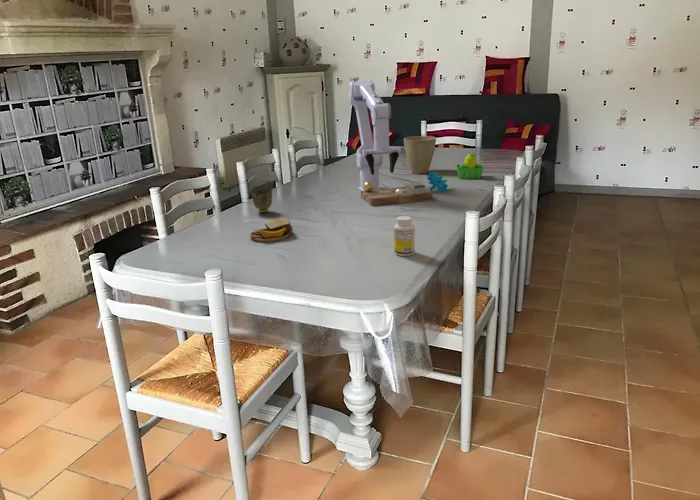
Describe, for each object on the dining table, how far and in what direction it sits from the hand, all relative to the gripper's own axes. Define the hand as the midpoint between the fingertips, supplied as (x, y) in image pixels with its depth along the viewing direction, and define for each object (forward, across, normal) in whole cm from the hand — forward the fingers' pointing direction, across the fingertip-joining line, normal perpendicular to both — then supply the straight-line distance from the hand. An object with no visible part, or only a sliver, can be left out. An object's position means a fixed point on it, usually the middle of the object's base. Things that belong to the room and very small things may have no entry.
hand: (382, 173), depth 213 cm
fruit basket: (+10, +46, +22) cm, 52 cm away
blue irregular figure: (+10, +24, +3) cm, 26 cm away
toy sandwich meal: (+10, -46, -33) cm, 58 cm away
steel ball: (+8, +6, -2) cm, 10 cm away
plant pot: (+10, +31, +42) cm, 53 cm away
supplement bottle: (+10, -13, -64) cm, 66 cm away
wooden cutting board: (+10, +5, -2) cm, 11 cm away
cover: (+7, +12, -4) cm, 15 cm away
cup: (+10, -46, -3) cm, 47 cm away
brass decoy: (+5, -5, +3) cm, 8 cm away
